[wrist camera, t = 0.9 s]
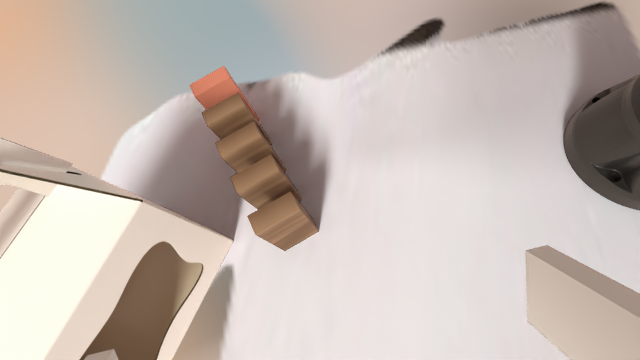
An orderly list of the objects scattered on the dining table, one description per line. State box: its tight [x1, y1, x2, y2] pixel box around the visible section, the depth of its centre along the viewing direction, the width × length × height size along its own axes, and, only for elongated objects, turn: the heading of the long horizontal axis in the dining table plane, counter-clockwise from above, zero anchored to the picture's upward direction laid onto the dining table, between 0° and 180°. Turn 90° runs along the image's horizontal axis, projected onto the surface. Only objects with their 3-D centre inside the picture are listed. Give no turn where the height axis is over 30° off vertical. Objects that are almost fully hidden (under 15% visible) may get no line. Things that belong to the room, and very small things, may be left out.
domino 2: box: [202, 92, 272, 145], centre depth 42 cm, size 2×5×10 cm, turn 118°
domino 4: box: [230, 154, 302, 210], centre depth 38 cm, size 2×5×10 cm, turn 118°
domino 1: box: [190, 66, 259, 121], centre depth 44 cm, size 2×5×10 cm, turn 118°
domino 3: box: [215, 122, 286, 173], centre depth 40 cm, size 2×5×10 cm, turn 118°
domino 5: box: [248, 192, 319, 251], centre depth 36 cm, size 2×5×10 cm, turn 118°
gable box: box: [0, 138, 233, 360], centre depth 28 cm, size 22×13×28 cm, turn 156°
